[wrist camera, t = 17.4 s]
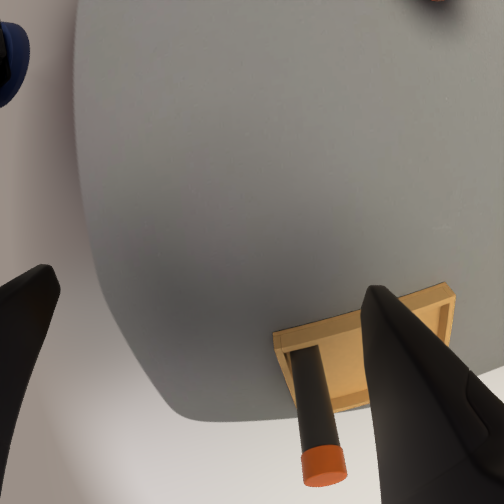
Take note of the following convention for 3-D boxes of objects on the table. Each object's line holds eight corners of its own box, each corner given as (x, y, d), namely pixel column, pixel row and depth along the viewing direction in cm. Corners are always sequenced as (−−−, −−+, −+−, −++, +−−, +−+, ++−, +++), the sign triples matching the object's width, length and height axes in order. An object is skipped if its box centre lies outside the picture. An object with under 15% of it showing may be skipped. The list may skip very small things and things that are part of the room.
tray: (299, 405, 30) (301, 420, 28) (272, 332, 25) (273, 349, 23) (435, 364, 28) (442, 377, 26) (445, 281, 23) (456, 295, 21)
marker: (291, 359, 26) (307, 489, 15) (284, 338, 25) (300, 478, 14) (321, 352, 26) (348, 481, 15) (316, 330, 24) (346, 468, 14)
